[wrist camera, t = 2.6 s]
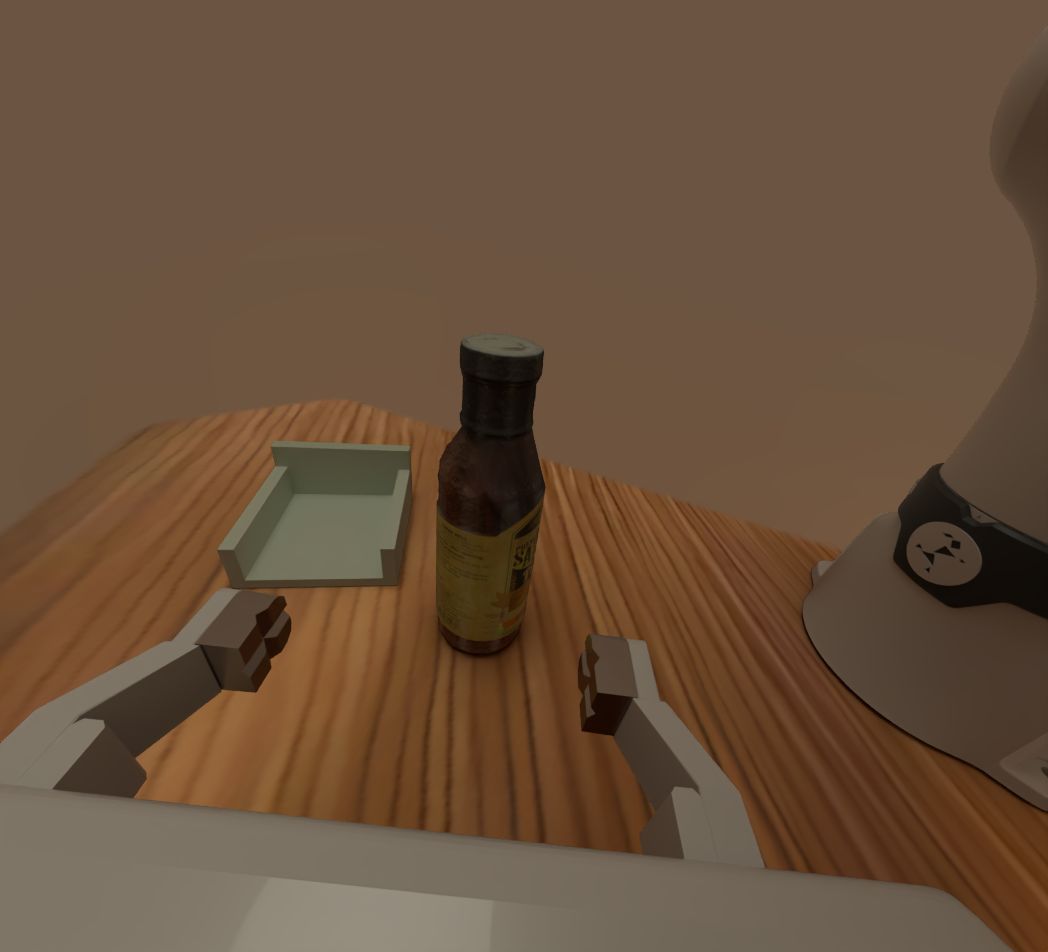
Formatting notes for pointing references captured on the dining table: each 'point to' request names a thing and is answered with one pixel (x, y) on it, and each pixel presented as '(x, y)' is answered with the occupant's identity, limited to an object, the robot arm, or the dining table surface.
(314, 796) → the dining table surface
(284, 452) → the caddy
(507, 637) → the sauce bottle
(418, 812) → the dining table surface
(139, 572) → the dining table surface
